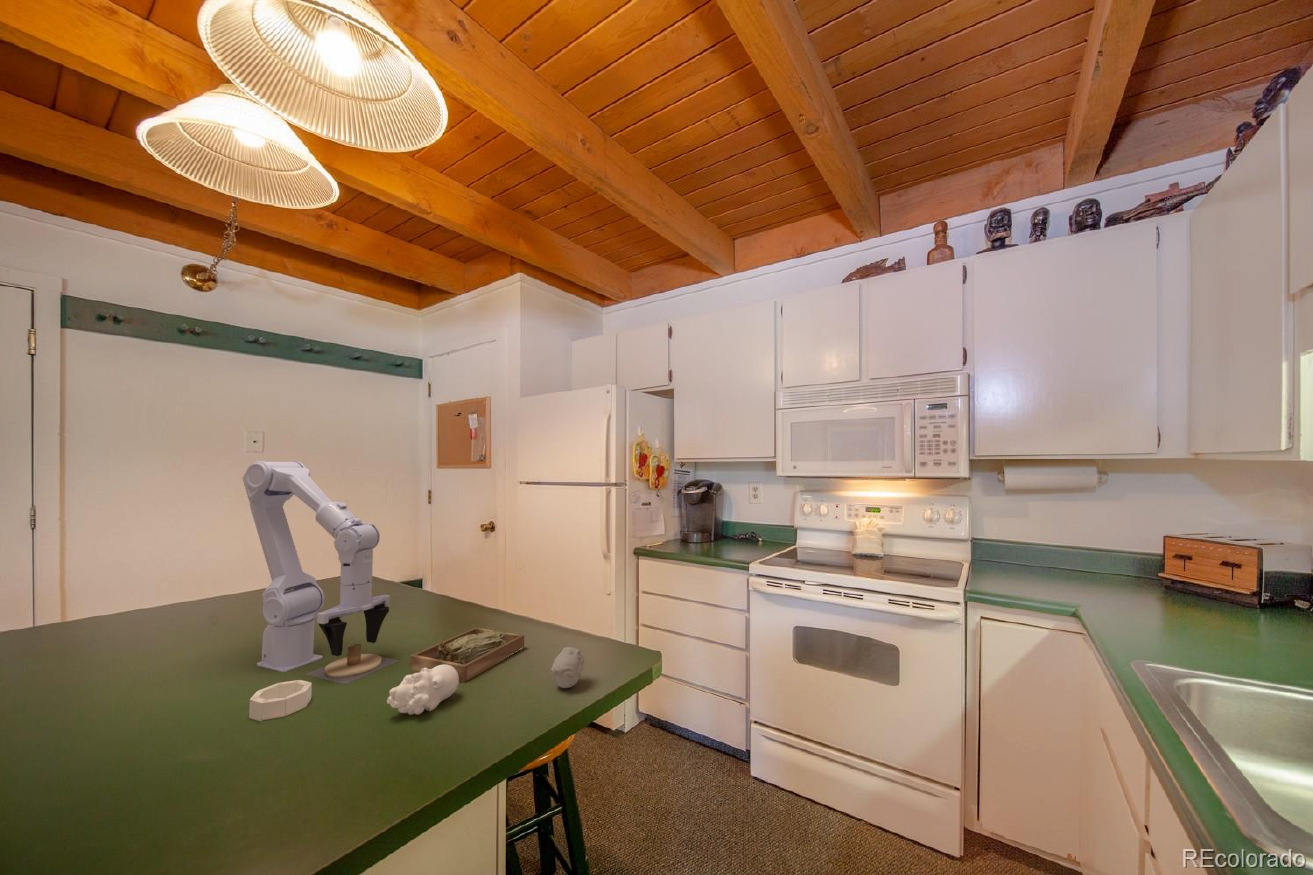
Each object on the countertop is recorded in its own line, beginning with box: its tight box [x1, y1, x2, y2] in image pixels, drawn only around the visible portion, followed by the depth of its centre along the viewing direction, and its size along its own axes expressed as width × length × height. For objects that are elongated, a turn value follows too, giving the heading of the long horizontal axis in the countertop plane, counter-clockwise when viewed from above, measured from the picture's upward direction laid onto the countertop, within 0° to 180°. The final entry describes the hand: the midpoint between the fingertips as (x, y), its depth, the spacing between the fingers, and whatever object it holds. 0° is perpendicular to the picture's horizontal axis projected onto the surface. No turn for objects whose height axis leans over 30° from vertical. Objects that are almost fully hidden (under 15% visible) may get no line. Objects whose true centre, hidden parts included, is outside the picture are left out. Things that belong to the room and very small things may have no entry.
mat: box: [304, 652, 400, 685], centre depth 100 cm, size 12×12×1 cm
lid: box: [324, 643, 382, 678], centre depth 100 cm, size 10×10×4 cm
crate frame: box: [409, 627, 525, 683], centre depth 105 cm, size 15×19×3 cm
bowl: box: [248, 679, 313, 722], centre depth 84 cm, size 8×8×3 cm
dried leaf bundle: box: [437, 629, 506, 665], centre depth 105 cm, size 14×10×5 cm, turn 136°
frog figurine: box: [550, 646, 585, 689], centre depth 92 cm, size 6×7×7 cm
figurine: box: [386, 664, 459, 716], centre depth 84 cm, size 7×7×12 cm
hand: (354, 648), depth 100 cm, fingers open, 7 cm apart
